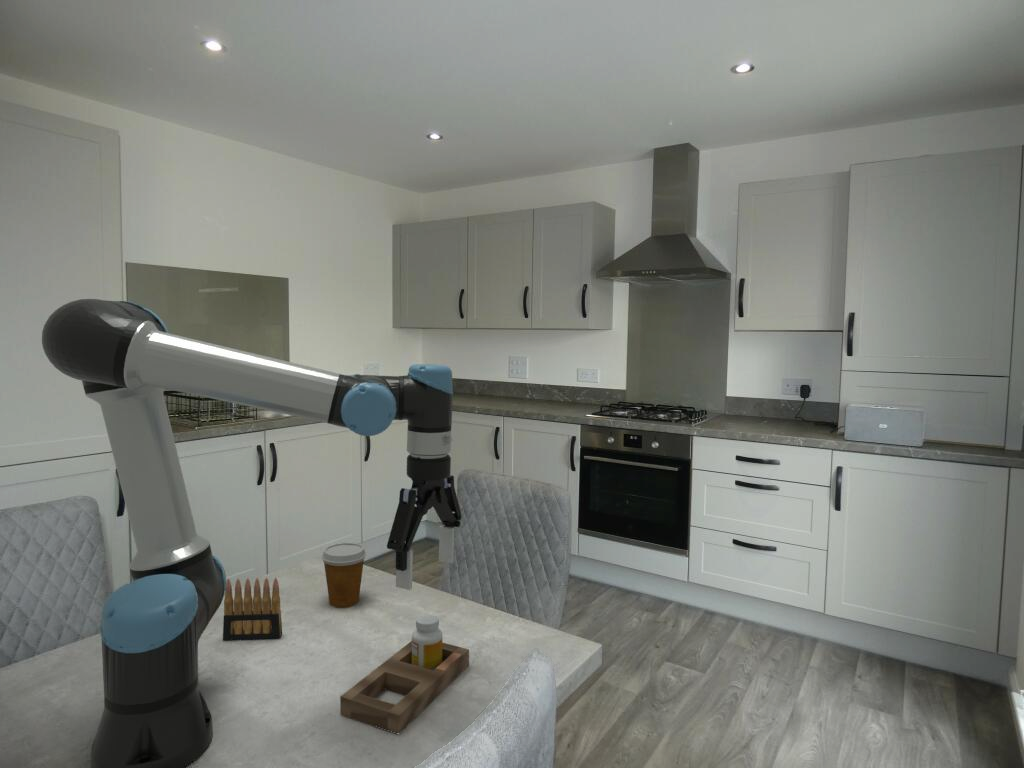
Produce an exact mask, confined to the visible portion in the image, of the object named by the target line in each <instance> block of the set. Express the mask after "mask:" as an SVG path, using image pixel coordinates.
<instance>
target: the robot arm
mask: <svg viewBox="0 0 1024 768" xmlns="http://www.w3.org/2000/svg"><path fill="white" fill-rule="evenodd" d="M47 318H48V319H46V321H45V324H44V325H43V327H42V331H41V345H42V349H43V352H44V355H45V356H46V357H47V360H48V361H49V363H51V365H53V367H54V368H55V369H57V370H58V371H59V372H60V373H61V374H64V375H65V376H68V377H70V378H72V379H74V380H79V381H81V382H82V387H83V390H84V394H85V397H87V398H89V399H90V400H92V401H94V402H96V403H98V404H99V405H100V409H101V413H102V417H103V420H104V424H105V429H106V433H107V437H108V440H109V443H110V449H111V452H112V456H113V460H114V463H115V468H116V471H117V475H118V480H119V483H120V487H121V492H122V495H123V499H124V503H125V508H126V511H127V515H128V520H129V523H130V527H131V531H132V534H133V539H134V543H135V547H136V551H137V552H136V554H135V555H134V557H133V558H132V560H131V561H130V562H129V565H128V566H129V571H130V575H131V579H132V583H125V584H123V585H122V586H120V587H118V588H117V589H116V590H115V591H113V592H112V593H110V595H109V596H108V597H107V599H106V600H105V602H104V603H103V607H102V610H101V620H100V626H99V632H100V636H101V637H100V638H101V653H102V654H101V655H102V674H103V676H102V677H103V678H102V679H103V699H104V704H103V705H104V708H103V711H102V715H101V718H100V721H99V723H98V726H97V727H98V728H97V731H96V734H95V738H94V740H93V741H92V744H91V748H90V749H91V750H90V767H91V768H185V767H187V766H188V765H190V764H192V763H193V762H194V761H195V760H196V759H198V758H199V757H200V756H201V755H202V754H204V752H205V751H206V750H207V749H208V747H209V746H210V744H211V741H212V739H213V736H214V735H213V733H214V731H213V725H214V724H213V715H212V714H211V711H210V709H209V705H208V704H207V702H206V699H205V698H204V695H203V693H202V690H201V688H200V684H199V647H198V646H199V640H200V638H201V637H202V635H203V633H204V632H205V630H206V628H207V627H208V625H209V624H210V622H211V620H213V617H214V615H215V614H216V613H217V611H218V610H219V608H220V607H221V605H222V602H223V599H224V598H225V588H226V582H227V575H226V571H225V570H226V569H225V567H224V566H223V564H222V563H221V561H220V560H219V558H217V556H216V555H213V553H212V547H211V544H210V540H209V539H207V538H205V537H204V536H201V535H199V534H198V533H197V530H196V529H197V528H196V526H195V521H194V517H193V514H192V513H193V512H192V509H191V504H190V500H189V496H188V491H187V488H186V485H185V479H184V474H183V471H182V467H181V462H180V459H179V455H178V450H177V445H176V441H175V436H174V434H173V428H172V425H171V421H170V418H169V417H170V416H169V413H168V408H167V404H166V399H165V396H164V392H165V390H171V391H175V392H179V393H185V394H189V395H194V396H198V397H199V396H200V397H203V398H209V399H213V400H219V401H221V402H222V401H223V402H225V403H226V402H227V403H232V404H235V405H236V404H237V405H240V406H247V407H250V408H256V409H259V410H260V409H261V410H265V411H270V412H275V413H278V414H283V415H289V416H293V417H297V418H302V419H307V420H311V421H316V422H322V423H326V424H329V425H332V426H336V427H341V428H346V429H348V430H350V431H351V432H354V433H355V434H357V435H359V436H363V437H373V436H377V435H380V434H381V433H383V432H386V430H387V429H388V428H389V427H390V426H391V425H392V422H393V421H403V420H404V421H407V430H406V431H407V432H406V433H407V434H406V435H407V436H406V438H407V439H406V451H407V453H409V454H408V456H406V476H407V477H408V478H410V479H411V481H412V483H411V488H404V487H403V488H401V489H400V490H399V498H398V505H397V508H396V512H395V516H394V519H393V522H392V526H391V530H390V533H389V536H388V541H387V544H386V549H389V550H391V551H395V587H396V588H399V589H405V590H408V591H411V590H412V589H413V563H414V557H413V556H414V553H413V552H414V550H413V549H411V546H412V544H413V541H414V540H415V537H416V534H417V531H418V529H419V528H420V525H421V522H422V519H423V517H424V516H425V515H427V513H428V512H429V510H431V509H432V508H433V509H434V511H435V513H436V515H437V517H438V518H439V520H440V522H441V523H442V525H440V526H439V530H438V531H439V533H438V534H439V536H438V537H439V539H438V562H441V563H446V564H451V565H452V564H453V563H454V553H455V551H454V550H455V528H460V526H461V520H462V518H463V516H462V511H461V507H460V503H459V499H458V497H457V493H456V488H455V476H454V475H451V466H452V465H451V462H452V460H451V456H450V454H449V453H451V451H452V449H451V448H452V441H453V437H452V424H453V421H452V420H453V398H454V397H453V395H454V391H453V371H452V369H451V368H450V367H449V366H447V365H445V364H430V363H429V364H426V363H425V364H424V363H423V364H419V363H417V364H411V365H410V366H409V367H408V372H407V375H399V376H396V375H395V376H394V375H375V374H374V375H372V374H371V375H370V374H369V375H368V374H359V373H357V374H347V375H346V374H341V373H337V372H333V371H329V370H324V369H321V368H316V367H313V366H309V365H303V364H299V363H295V362H291V361H288V360H283V359H279V358H274V357H270V356H266V355H263V354H257V353H254V352H250V351H245V350H240V349H237V348H233V347H228V346H225V345H221V344H220V345H219V344H215V343H211V342H206V341H202V340H199V339H195V338H190V337H185V336H183V335H177V334H173V333H170V332H169V330H168V327H167V326H166V324H165V322H164V321H163V320H162V319H161V318H160V317H159V315H157V314H156V313H155V312H154V311H152V310H150V309H149V308H147V307H144V306H143V305H140V304H137V303H134V302H131V301H125V300H120V301H119V300H105V299H104V300H103V299H99V298H98V299H97V298H81V299H76V300H73V301H70V302H67V303H65V304H62V305H61V306H60V307H58V308H57V309H55V311H53V312H52V313H51V314H50V315H49V317H47Z"/></svg>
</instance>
